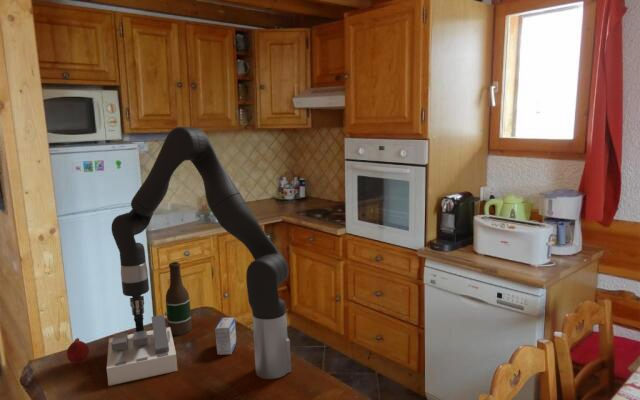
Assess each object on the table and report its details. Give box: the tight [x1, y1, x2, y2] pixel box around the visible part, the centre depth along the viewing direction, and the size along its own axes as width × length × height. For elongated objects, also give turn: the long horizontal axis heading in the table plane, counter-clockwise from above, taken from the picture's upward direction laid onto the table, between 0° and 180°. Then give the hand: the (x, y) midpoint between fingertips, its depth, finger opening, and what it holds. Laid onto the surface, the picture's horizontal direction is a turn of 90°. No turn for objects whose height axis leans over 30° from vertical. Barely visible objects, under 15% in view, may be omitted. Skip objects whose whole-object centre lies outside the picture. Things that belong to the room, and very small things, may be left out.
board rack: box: [106, 326, 179, 387], centre depth 138 cm, size 18×20×8 cm
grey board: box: [112, 332, 128, 350], centre depth 135 cm, size 4×16×2 cm, turn 22°
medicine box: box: [214, 317, 237, 356], centre depth 144 cm, size 8×4×9 cm, turn 179°
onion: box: [66, 337, 90, 365], centre depth 138 cm, size 6×6×8 cm
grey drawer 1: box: [151, 314, 169, 354], centre depth 139 cm, size 4×16×2 cm, turn 22°
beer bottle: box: [165, 261, 193, 336], centre depth 157 cm, size 8×8×24 cm
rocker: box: [133, 328, 147, 346], centre depth 137 cm, size 4×16×2 cm, turn 22°
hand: (140, 331), depth 144 cm, fingers closed
